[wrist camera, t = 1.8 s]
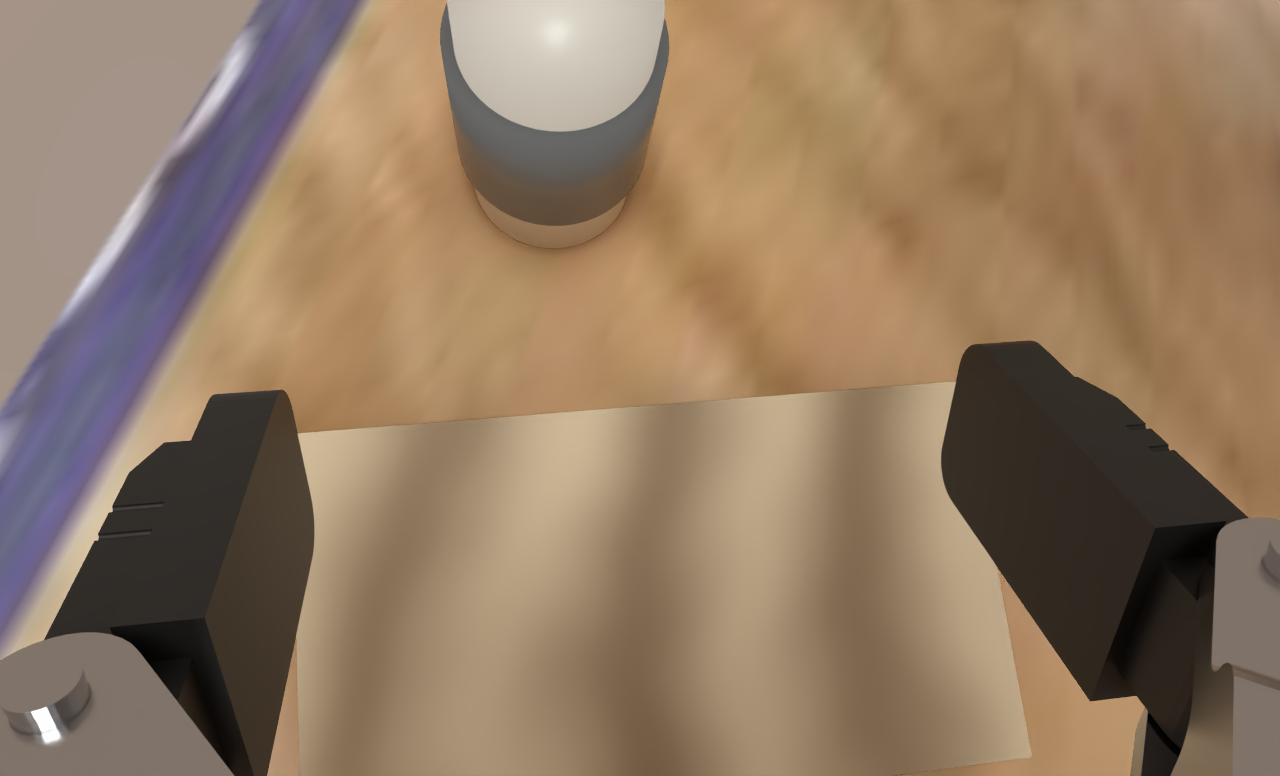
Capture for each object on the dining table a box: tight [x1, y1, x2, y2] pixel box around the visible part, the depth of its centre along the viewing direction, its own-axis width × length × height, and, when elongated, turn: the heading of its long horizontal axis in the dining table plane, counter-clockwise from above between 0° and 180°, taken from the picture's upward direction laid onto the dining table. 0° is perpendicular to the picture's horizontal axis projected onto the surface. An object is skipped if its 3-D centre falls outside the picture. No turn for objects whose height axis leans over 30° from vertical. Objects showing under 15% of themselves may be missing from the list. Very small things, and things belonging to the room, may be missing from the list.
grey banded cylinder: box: [440, 0, 669, 248], centre depth 26 cm, size 6×6×9 cm
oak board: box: [296, 381, 1032, 776], centre depth 27 cm, size 20×11×1 cm, turn 96°
